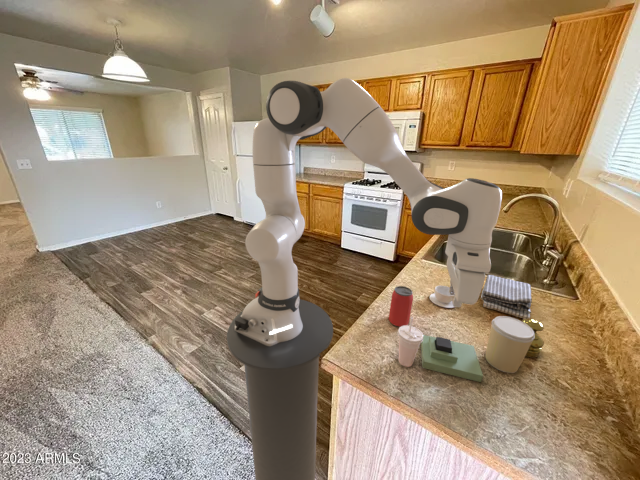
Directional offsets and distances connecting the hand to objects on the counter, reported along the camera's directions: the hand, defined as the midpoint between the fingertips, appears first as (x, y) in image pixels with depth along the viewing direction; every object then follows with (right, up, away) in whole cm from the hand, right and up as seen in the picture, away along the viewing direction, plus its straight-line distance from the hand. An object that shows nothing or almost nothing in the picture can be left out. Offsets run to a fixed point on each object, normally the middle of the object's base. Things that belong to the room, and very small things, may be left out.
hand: (454, 299), depth 67 cm
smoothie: (-11, -18, +5) cm, 22 cm away
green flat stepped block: (+1, -18, +6) cm, 19 cm away
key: (0, -14, +5) cm, 16 cm away
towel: (+36, -9, +34) cm, 50 cm away
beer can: (-8, -12, +21) cm, 26 cm away
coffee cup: (+16, -19, +6) cm, 25 cm away
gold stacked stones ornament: (+26, -17, +11) cm, 33 cm away
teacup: (+13, -8, +33) cm, 37 cm away
